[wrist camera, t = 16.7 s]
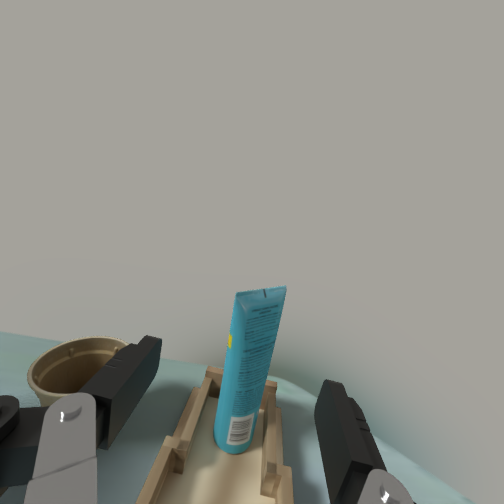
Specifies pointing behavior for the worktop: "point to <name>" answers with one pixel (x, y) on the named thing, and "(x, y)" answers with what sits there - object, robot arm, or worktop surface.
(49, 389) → the flower pot
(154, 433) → the worktop surface
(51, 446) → the robot arm
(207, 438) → the keyhole tray
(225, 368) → the tube
